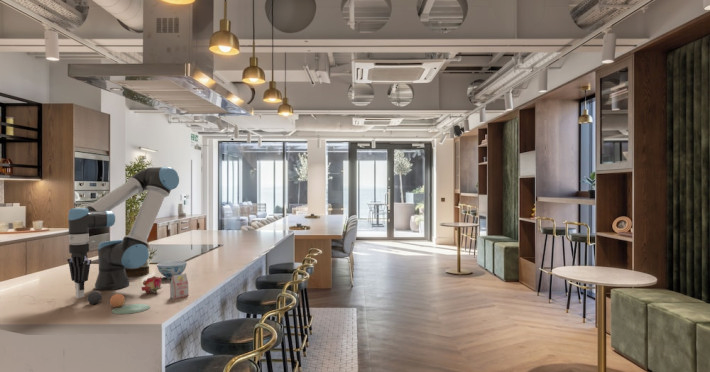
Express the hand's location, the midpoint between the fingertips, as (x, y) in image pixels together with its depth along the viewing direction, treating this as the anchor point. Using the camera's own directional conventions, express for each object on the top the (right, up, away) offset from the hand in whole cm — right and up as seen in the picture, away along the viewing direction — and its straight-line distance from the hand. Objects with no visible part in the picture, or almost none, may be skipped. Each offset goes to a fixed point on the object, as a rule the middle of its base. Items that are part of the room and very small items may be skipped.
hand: (80, 297), depth 201 cm
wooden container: (-4, -1, +58) cm, 58 cm away
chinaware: (+22, -1, +48) cm, 52 cm away
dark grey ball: (+8, +1, -4) cm, 9 cm away
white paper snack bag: (+41, -2, +7) cm, 42 cm away
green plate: (+29, -2, -13) cm, 31 cm away
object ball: (+21, +1, -9) cm, 23 cm away
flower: (+25, -2, +14) cm, 29 cm away
